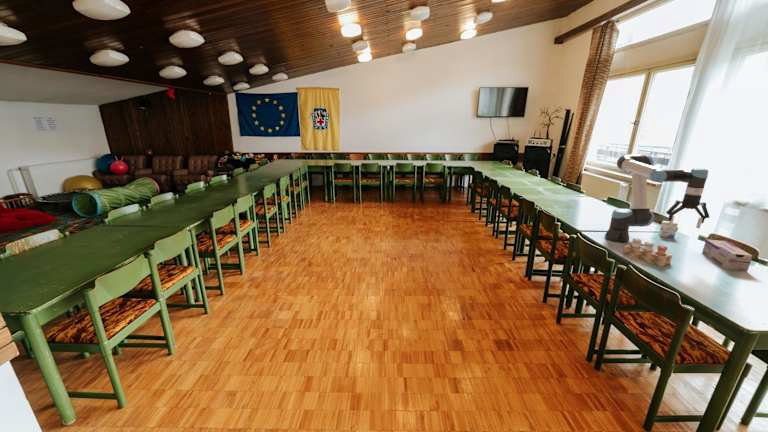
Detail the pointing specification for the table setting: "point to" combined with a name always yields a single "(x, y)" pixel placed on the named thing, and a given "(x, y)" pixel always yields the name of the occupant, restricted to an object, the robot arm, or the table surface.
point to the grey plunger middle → (648, 246)
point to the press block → (647, 255)
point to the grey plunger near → (636, 243)
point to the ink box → (668, 229)
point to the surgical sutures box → (727, 255)
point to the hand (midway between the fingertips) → (683, 226)
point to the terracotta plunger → (661, 250)
